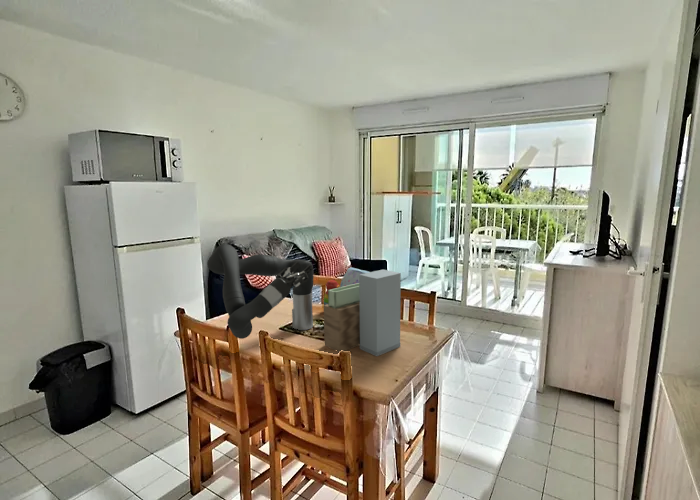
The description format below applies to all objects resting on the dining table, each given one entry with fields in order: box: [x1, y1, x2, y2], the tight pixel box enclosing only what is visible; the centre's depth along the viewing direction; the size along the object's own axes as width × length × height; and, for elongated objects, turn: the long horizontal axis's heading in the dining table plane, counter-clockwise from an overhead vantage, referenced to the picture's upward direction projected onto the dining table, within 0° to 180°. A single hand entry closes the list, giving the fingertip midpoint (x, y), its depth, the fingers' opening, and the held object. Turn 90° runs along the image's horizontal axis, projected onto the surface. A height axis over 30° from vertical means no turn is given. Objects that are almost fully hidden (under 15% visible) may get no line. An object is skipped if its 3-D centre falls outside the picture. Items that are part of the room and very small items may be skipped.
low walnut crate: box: [323, 302, 360, 353], centre depth 168 cm, size 23×10×18 cm, turn 131°
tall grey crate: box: [359, 269, 402, 357], centre depth 160 cm, size 14×10×32 cm
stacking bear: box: [323, 279, 340, 306], centre depth 208 cm, size 11×10×18 cm
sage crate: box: [328, 283, 360, 309], centre depth 166 cm, size 22×4×7 cm, turn 131°
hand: (305, 265), depth 148 cm, fingers open, 8 cm apart
